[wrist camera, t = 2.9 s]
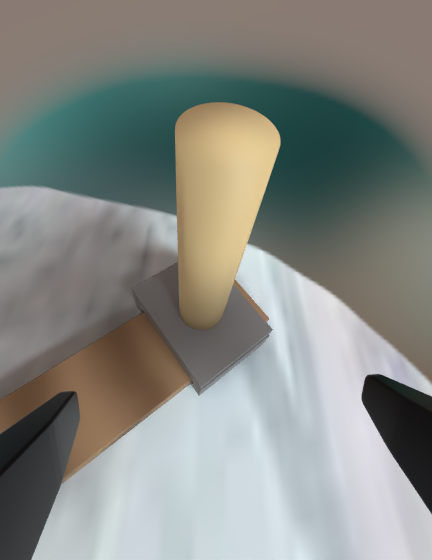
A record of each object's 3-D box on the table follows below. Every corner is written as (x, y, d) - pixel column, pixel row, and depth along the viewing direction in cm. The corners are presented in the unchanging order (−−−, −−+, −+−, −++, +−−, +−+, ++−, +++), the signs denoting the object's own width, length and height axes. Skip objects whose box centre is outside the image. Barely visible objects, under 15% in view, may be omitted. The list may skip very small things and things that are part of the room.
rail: (-19, 545, 15) (-44, 559, 14) (-51, 446, 17) (-77, 447, 16) (262, 327, 23) (269, 318, 22) (218, 275, 25) (221, 264, 24)
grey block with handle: (198, 395, 20) (242, 294, 5) (137, 307, 22) (61, 86, 8) (260, 345, 22) (405, 181, 8) (198, 270, 24) (221, 47, 10)
